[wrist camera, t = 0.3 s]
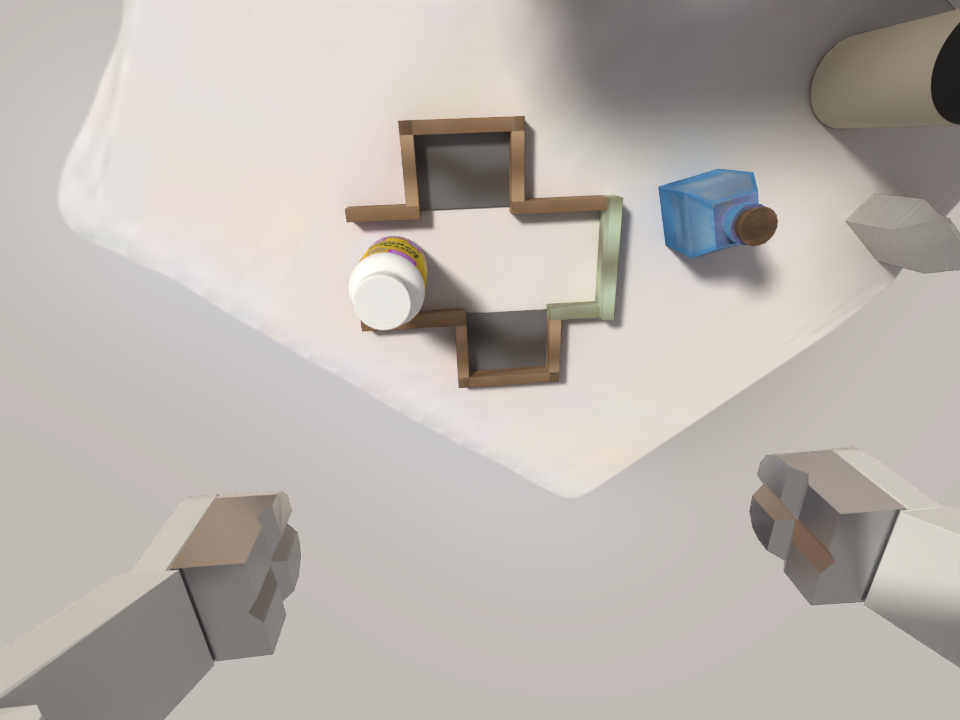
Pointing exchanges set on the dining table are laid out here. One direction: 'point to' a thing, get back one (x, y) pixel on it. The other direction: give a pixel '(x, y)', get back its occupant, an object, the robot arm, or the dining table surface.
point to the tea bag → (907, 233)
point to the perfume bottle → (714, 213)
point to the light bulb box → (955, 3)
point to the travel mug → (892, 76)
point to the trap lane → (500, 182)
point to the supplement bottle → (389, 283)
